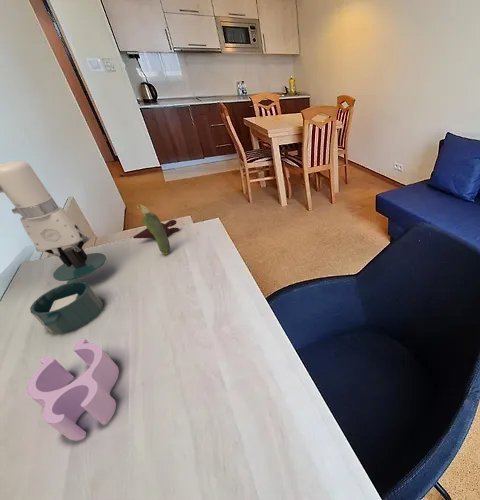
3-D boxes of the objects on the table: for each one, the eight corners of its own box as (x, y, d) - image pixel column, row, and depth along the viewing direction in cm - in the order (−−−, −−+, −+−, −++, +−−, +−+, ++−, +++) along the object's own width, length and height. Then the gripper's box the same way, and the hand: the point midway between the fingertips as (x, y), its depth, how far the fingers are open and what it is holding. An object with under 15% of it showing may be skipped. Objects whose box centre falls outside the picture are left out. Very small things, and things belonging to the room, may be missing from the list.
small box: (64, 313, 84) (53, 300, 82) (88, 305, 86) (78, 292, 83) (59, 326, 80) (47, 314, 77) (84, 318, 82) (73, 305, 79)
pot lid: (47, 288, 86) (31, 268, 82) (63, 262, 97) (49, 244, 93) (101, 274, 90) (88, 254, 86) (111, 251, 101) (100, 233, 97)
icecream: (132, 236, 105) (178, 223, 113) (127, 224, 109) (172, 212, 117) (138, 250, 110) (182, 237, 118) (134, 238, 114) (177, 226, 122)
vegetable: (173, 249, 108) (147, 198, 97) (177, 253, 106) (151, 202, 94) (160, 254, 106) (132, 203, 95) (164, 259, 103) (136, 207, 92)
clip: (131, 408, 60) (113, 389, 56) (54, 458, 54) (27, 441, 50) (112, 349, 73) (96, 331, 69) (48, 385, 66) (26, 366, 62)
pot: (37, 349, 75) (15, 329, 71) (62, 303, 89) (45, 284, 84) (94, 331, 78) (77, 311, 74) (110, 289, 92) (96, 270, 88)
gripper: (-7, 221, 77) (40, 277, 87) (69, 206, 81) (105, 261, 92) (8, 210, 82) (50, 263, 93) (78, 196, 87) (111, 249, 97)
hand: (77, 262), depth 92 cm, fingers closed on pot lid, 2 cm apart
